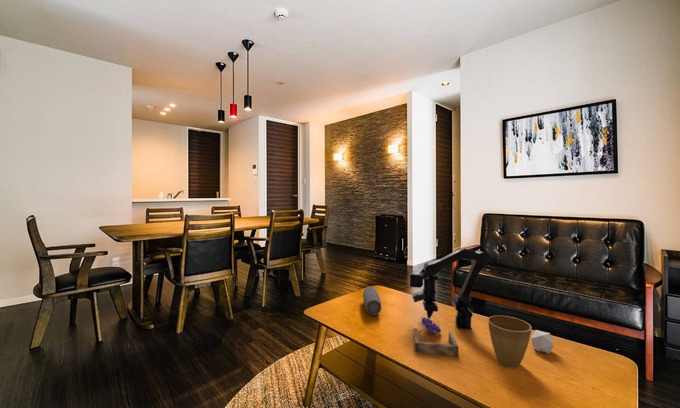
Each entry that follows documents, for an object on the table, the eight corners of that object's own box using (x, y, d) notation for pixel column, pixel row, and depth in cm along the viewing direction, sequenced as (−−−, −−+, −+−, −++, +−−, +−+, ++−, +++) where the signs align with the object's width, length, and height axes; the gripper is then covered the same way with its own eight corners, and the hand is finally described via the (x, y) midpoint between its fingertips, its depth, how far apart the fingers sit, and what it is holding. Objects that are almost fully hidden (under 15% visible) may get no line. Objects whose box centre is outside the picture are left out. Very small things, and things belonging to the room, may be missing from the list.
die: (555, 351, 126) (542, 328, 131) (562, 350, 119) (548, 326, 124) (536, 356, 127) (523, 333, 132) (542, 356, 120) (528, 331, 125)
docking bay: (451, 340, 133) (452, 331, 132) (458, 356, 119) (458, 347, 119) (413, 336, 136) (413, 328, 136) (415, 352, 123) (415, 342, 122)
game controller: (448, 324, 140) (438, 327, 132) (440, 341, 141) (430, 344, 133) (428, 311, 147) (418, 313, 139) (421, 327, 148) (411, 329, 140)
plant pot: (529, 359, 118) (531, 320, 118) (530, 378, 106) (531, 335, 105) (488, 348, 126) (489, 312, 126) (484, 365, 114) (485, 324, 113)
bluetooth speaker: (382, 317, 156) (382, 299, 156) (365, 317, 156) (365, 298, 156) (377, 301, 179) (377, 285, 179) (362, 301, 179) (362, 285, 179)
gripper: (412, 281, 159) (411, 309, 160) (414, 292, 141) (413, 324, 142) (433, 282, 157) (432, 311, 158) (438, 294, 139) (437, 327, 139)
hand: (428, 318), depth 149 cm, fingers closed
